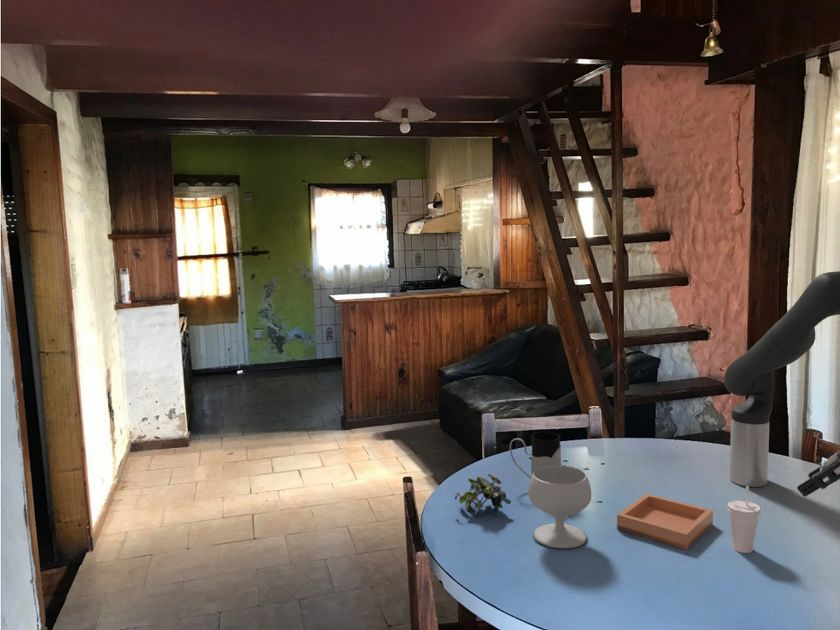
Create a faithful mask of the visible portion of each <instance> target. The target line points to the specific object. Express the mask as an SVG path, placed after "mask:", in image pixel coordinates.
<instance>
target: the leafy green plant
mask: <svg viewBox="0 0 840 630" xmlns="http://www.w3.org/2000/svg"><path fill="white" fill-rule="evenodd" d="M488 477H489V478H490V479H491V480H492V482H490V481H489V480H488V479H486V478H485V477H482V476H477V477H475V479H472V478H471V477H470V476H468V478H467V479H468V482H470V483H471V485H470V487H469V491H465V492H464V493H463V495H461V494H460V492H456V494H455V496H454V500H457V499H458V496H459V499H458V501H459V503H460V505H462V504H463V503H465V505H466V506H465V509H466V510H465V511H467V512H468V511H469V509H470V506H471V505H472V504H474V514H473V516H472V517H473V518H475V516H476V514H477V513H478V512H479V510H480V509H481V508H483V505H484V504H485V502H487V501H488V500H491V501H490V502H491V504H492V507H494V508H495V509H499V508H500V509H503V508H504V507H503V504H502V503H503V502H504V503H506V504H507V505H510V504H511V503H512V500H510V499H508V498H507V493H506V491H502V490H501V489H502V487H500V486H498V485H500V484H502V481H501V480H500V479H499V478H498V477H497V476H495V475H493V474H489V473H488ZM495 483H496V484H497V485H495ZM472 491H473V492H472ZM481 494H483V496H482V498H481V499H480V500H479V498H478V497H479V495H481ZM483 498H485V499H484V500H483ZM482 501H483V502H482Z"/></svg>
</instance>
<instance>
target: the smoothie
mask: <svg viewBox="0 0 840 630" xmlns="http://www.w3.org/2000/svg"><path fill="white" fill-rule="evenodd" d="M749 493H750V487H749V486H745V500H739V499H738V500H731V501H729V502H728V503H727V507H726V508H727V510H728V511H729V520H730V529H731V538H732V539H731V540H732V547H733V550H735V551H736V552H738V553H743V554H749V553H752V552H753V549H754V544H755V537H756V533H757V527H758V521H759V516H760V515H761V514H762V512H761V507H760V506H759V505H758V504H756V503H754V502H751V501H749V500H750V499H749V496H750V494H749Z"/></svg>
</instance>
